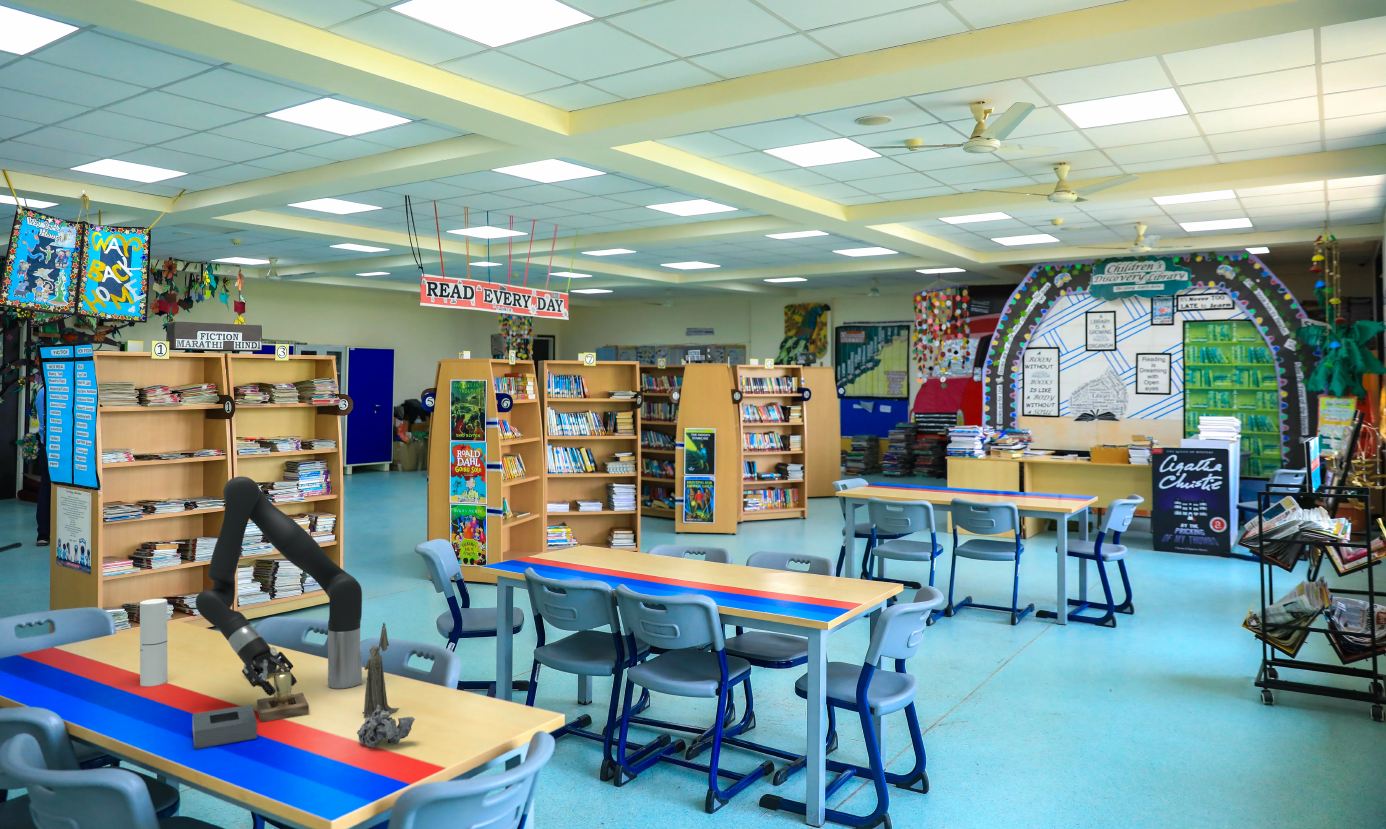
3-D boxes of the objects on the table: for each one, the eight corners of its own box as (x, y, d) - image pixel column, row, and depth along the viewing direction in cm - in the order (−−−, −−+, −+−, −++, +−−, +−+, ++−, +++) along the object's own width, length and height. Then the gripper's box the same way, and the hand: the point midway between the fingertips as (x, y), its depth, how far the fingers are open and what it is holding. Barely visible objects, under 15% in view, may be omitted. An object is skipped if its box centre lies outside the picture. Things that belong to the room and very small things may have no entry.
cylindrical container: (154, 687, 266) (154, 604, 266) (134, 685, 268) (134, 603, 267) (173, 679, 273) (172, 599, 273) (153, 678, 275) (153, 598, 274)
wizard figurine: (383, 704, 253) (383, 617, 253) (403, 709, 249) (403, 621, 248) (352, 714, 245) (353, 625, 244) (372, 721, 240) (372, 629, 240)
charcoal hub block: (251, 721, 239) (251, 704, 239) (256, 738, 227) (256, 721, 227) (192, 730, 232) (192, 713, 232) (194, 749, 220) (194, 731, 220)
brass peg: (290, 707, 250) (290, 670, 250) (292, 712, 246) (292, 675, 246) (272, 710, 248) (272, 673, 247) (274, 715, 244) (274, 677, 244)
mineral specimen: (421, 726, 226) (396, 692, 225) (393, 752, 218) (367, 717, 217) (395, 739, 233) (371, 706, 233) (367, 764, 225) (342, 731, 224)
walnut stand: (302, 701, 255) (302, 692, 255) (308, 714, 245) (308, 705, 245) (256, 708, 249) (256, 699, 249) (260, 722, 239) (260, 712, 239)
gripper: (238, 643, 242) (274, 688, 239) (274, 630, 255) (309, 672, 253) (222, 660, 243) (257, 706, 240) (259, 646, 257) (293, 689, 254)
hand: (283, 688), depth 247 cm, fingers open, 8 cm apart
